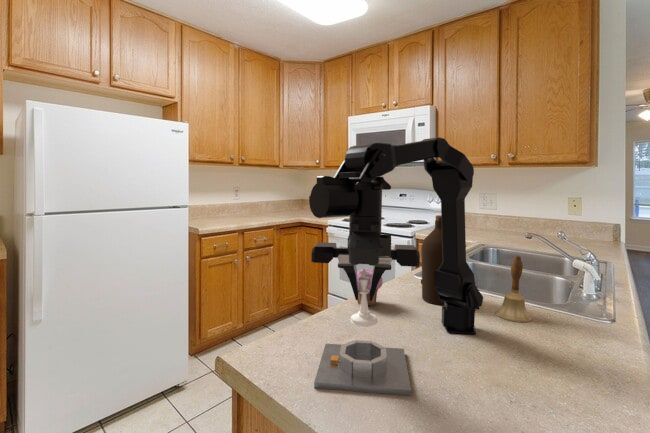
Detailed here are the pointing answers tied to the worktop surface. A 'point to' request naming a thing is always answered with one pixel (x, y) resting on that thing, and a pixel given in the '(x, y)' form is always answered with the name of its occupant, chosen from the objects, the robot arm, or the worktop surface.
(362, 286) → the chess piece
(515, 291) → the hand bell
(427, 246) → the olive oil
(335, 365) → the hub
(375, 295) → the cupcake
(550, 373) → the worktop surface
